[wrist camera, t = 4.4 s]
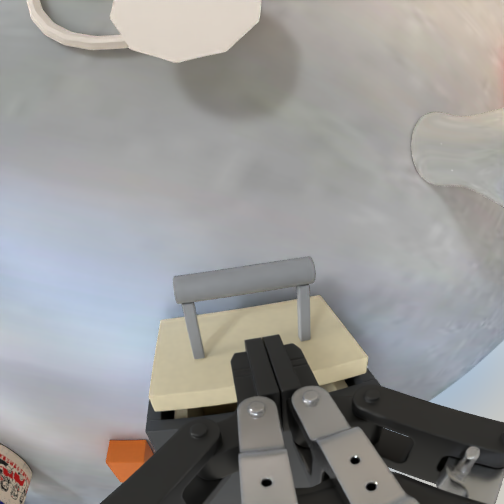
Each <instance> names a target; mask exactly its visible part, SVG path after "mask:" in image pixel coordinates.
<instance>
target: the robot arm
mask: <svg viewBox="0 0 504 504" xmlns="http://www.w3.org/2000/svg"><path fill="white" fill-rule="evenodd" d="M244 343H245V352H239V353H234V355H233V357H232V359H231V361H230V362H231V368H232V374H233V380H234V385H235V391H236V397H237V408H236V410H235V412H234V413H233V414H232V415H231V416H230V417H228V418H226V419H224V420H222V421H219V422H217V423H216V422H214V421H213V420H211V419H207V418H196V419H193V420H190V421H188V422H186V423H185V424H184V425H183V426H182V427H181V428H180V429H179V430H178V431H177V432H176V433H175V434H174V435H173V436H172V437H171V438H170V439H169V440H168V441H167V442H166V443H165V444H164V445H163V446H162V447H161V448H160V449H159V450H158V451H157V452H156V453H154V454H153V455H152V456H151V457H150V458H149V459H148V460H147V461H146V462H145V463H144V464H143V465H142V466H141V467H140V468H139V469H138V470H137V471H135V472H134V473H133V474H132V475H131V476H130V477H129V478H128V479H127V480H126V481H125V482H124V483H122V484H121V485H120V486H119V487H118V488H117V489H116V490H115V491H114V492H112V493H111V494H110V495H109V496H108V497H107V498H106V499H105V500H103V501H102V502H101V503H100V504H210V503H211V501H212V500H213V499H214V498H215V497H216V495H217V494H218V493H219V492H220V490H221V489H222V488H223V487H224V485H225V484H226V483H227V482H228V480H229V479H230V477H231V474H233V473H236V472H238V471H239V475H240V489H241V503H242V504H495V503H496V500H497V497H498V494H499V491H500V488H501V484H502V481H503V478H504V422H499V421H495V420H492V419H488V418H484V417H480V416H476V415H473V414H469V413H465V412H462V411H458V410H454V409H451V408H448V407H444V406H441V405H437V404H434V403H431V402H428V401H425V400H421V399H418V398H415V397H412V396H409V395H406V394H403V393H400V392H397V391H394V390H391V389H388V388H385V387H382V386H379V385H374V384H370V385H364V386H361V387H359V388H358V389H357V390H356V391H355V392H354V394H353V396H335V395H331V394H329V393H328V391H326V390H325V389H324V388H322V387H320V386H319V384H318V382H317V380H316V378H315V376H314V374H313V372H312V370H311V368H310V366H309V364H308V362H307V360H306V358H305V356H304V354H303V352H302V350H301V349H300V348H299V347H298V346H296V345H295V344H293V343H290V344H285V345H284V344H283V342H282V340H281V337H280V335H279V334H277V335H271V336H265V337H262V338H261V337H260V338H253V339H247V340H244ZM383 427H384V428H383ZM385 428H386V429H385ZM282 429H283V432H286V431H291V434H292V442H293V448H294V450H295V452H296V454H297V456H298V459H299V461H300V463H301V465H302V468H303V470H304V472H305V474H306V476H307V478H308V481H309V484H310V487H307V488H295V486H294V481H293V477H292V472H291V467H290V462H289V457H288V452H287V449H286V447H285V445H284V441H283V436H282ZM388 429H389V430H388ZM390 430H392V431H390ZM393 431H395V432H393ZM396 432H397V433H396ZM398 433H400V434H398ZM401 434H403V435H401ZM404 435H406V436H404ZM407 436H408V437H407ZM388 467H389V468H392V469H395V470H397V471H400V472H402V473H405V474H408V475H411V476H414V477H417V478H419V479H422V480H425V481H429V482H432V483H434V484H436V485H437V488H436V487H433V486H431V485H428V484H425V483H422V482H420V481H417V480H415V479H412V478H410V477H407V476H405V475H402V474H399V473H396V472H391V471H390V470H389V468H388Z"/></svg>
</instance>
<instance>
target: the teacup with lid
mask: <svg viewBox="0 0 504 504" xmlns="http://www.w3.org/2000/svg"><path fill="white" fill-rule="evenodd" d="M31 477H32V472H31V470H30V468H29V466H28V465H27V464H26V463H25V462H24V461H23V460H22V459H21V458H20V457H19V456H18V455H17V454H15V453H14V452H13V451H11V450H10V449H8V448H7V447H5V446H3V445H1V444H0V504H24V501H25V497H26V494H27V490H28V487H29V484H30V481H31Z"/></svg>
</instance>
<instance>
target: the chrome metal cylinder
mask: <svg viewBox="0 0 504 504" xmlns="http://www.w3.org/2000/svg"><path fill="white" fill-rule="evenodd" d="M411 153H412V158H413V162H414V165H415V167H416V169H417V171H418V173H419V174H420V176H421V177H422V178H423V179H424V180H425V181H427V182H428V183H430V184H432V185H435V186H460V187H464V188H467V189H470V190H472V191H474V192H476V193H478V194H480V195H482V196H484V197H486V198H487V199H489V200H491V201H493V202H494V203H496V204H498V205H500V206H501V207H503V208H504V108H501V109H497V110H492V111H488V112H484V113H481V114H476V115H471V116H456V115H452V114H448V113H443V112H430V113H427V114H425V115H424V116H423V117H421V118H420V119H419V121H418V122H417V124H416V125H415V128H414V130H413V134H412V139H411Z"/></svg>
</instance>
